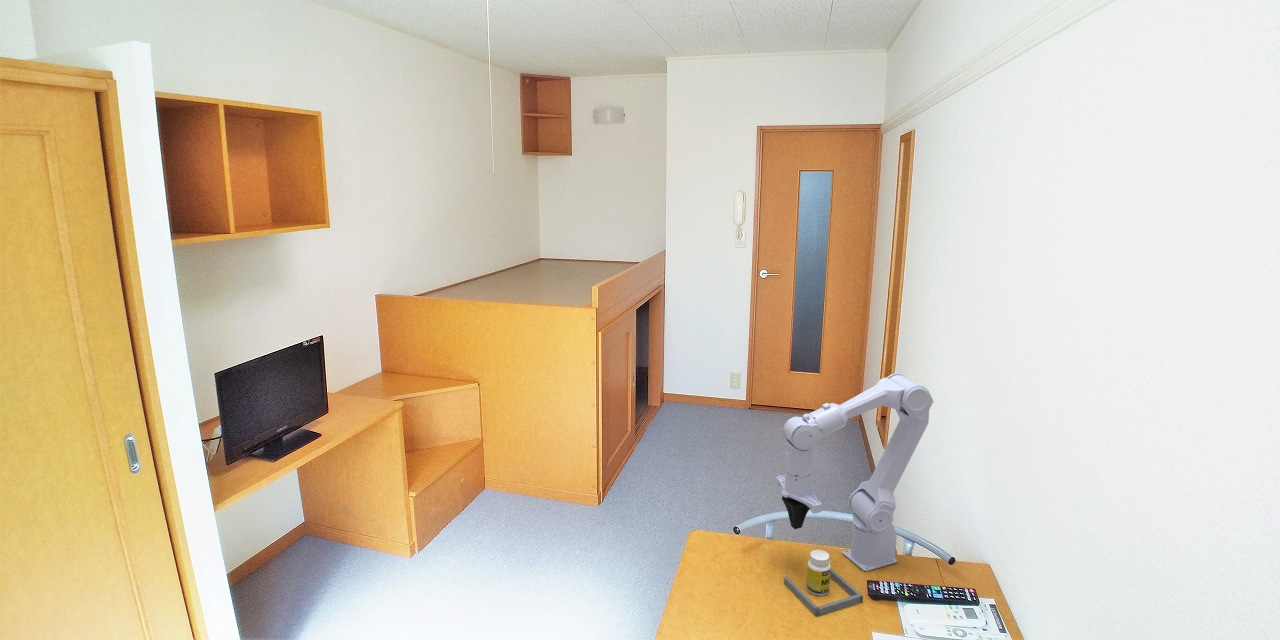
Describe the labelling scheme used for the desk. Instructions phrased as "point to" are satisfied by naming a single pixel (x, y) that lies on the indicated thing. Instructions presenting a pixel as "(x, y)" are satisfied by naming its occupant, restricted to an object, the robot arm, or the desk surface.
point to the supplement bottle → (818, 573)
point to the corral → (832, 606)
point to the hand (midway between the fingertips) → (796, 526)
